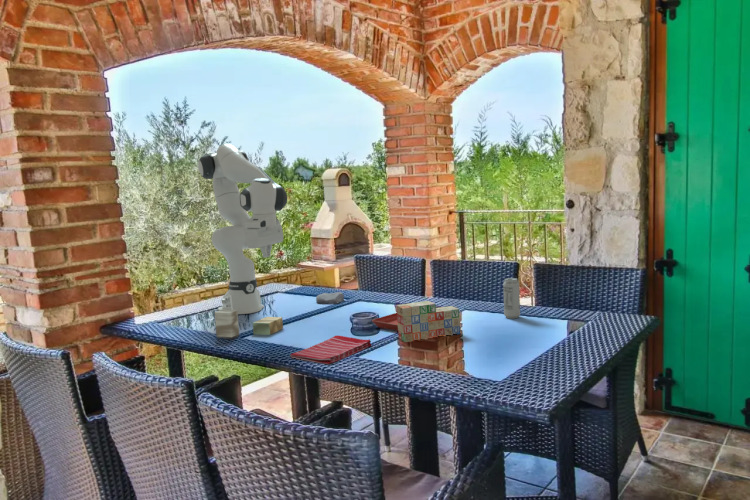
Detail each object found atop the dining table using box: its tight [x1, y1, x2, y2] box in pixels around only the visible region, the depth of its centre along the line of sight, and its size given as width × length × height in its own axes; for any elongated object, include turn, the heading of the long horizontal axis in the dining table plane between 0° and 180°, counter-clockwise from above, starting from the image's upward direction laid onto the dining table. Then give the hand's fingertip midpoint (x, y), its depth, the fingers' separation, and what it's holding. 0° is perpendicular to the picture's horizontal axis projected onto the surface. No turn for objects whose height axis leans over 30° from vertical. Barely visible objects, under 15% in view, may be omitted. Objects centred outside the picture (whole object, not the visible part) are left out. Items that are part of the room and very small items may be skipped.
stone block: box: [315, 291, 345, 305], centre depth 285 cm, size 12×5×10 cm
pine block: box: [214, 310, 240, 340], centre depth 228 cm, size 4×7×10 cm, turn 67°
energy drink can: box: [502, 277, 521, 320], centre depth 234 cm, size 6×6×15 cm
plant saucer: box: [371, 312, 398, 332], centre depth 231 cm, size 18×18×3 cm
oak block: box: [252, 316, 284, 336], centre depth 234 cm, size 4×7×10 cm
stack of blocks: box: [396, 300, 461, 343], centre depth 213 cm, size 21×6×12 cm, turn 108°
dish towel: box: [290, 335, 372, 365], centre depth 202 cm, size 17×24×3 cm
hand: (266, 257), depth 233 cm, fingers closed
